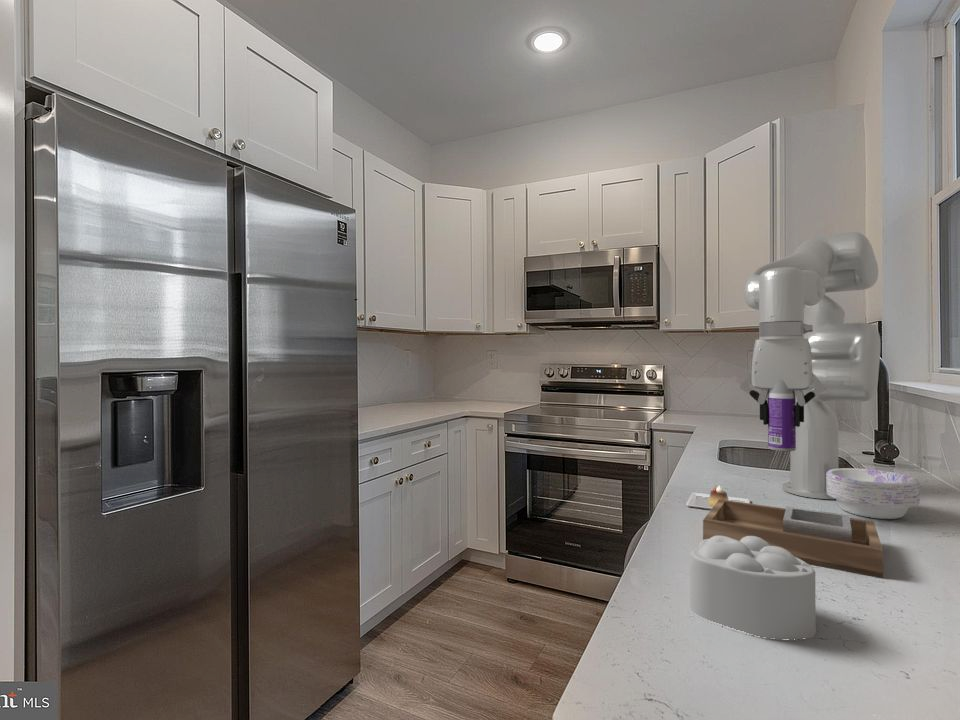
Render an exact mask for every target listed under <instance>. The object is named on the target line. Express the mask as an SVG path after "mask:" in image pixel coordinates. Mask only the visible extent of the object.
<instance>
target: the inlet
mask: <svg viewBox="0 0 960 720" xmlns="http://www.w3.org/2000/svg"><path fill="white" fill-rule="evenodd" d="M785 509H786V510H785V514H784V518H783V531H784V532H790V533H796V534H802V535H808V536H814V537H820V538H826V539H832V540H838V541H844V542H850V543H852V529H851V523H850V518H851V517H850V515H848V514H842V513H835V512H828V511H820V510H815V509H809V508H808V509H806V508H799V507H793V506H785Z"/></svg>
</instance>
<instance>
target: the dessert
mask: <svg viewBox="0 0 960 720" xmlns="http://www.w3.org/2000/svg"><path fill="white" fill-rule="evenodd" d="M716 486H717V485H716V484H715V486H714V487H713V488H712V490H710V493H702V492H701V493H700V492H693V491H692V492H691V493H690V495H689V498H688V500H687V502H686V504H685V505H686V506H688V507H689V508H692V507H693V508H694V509H702V510H709V511H710V510H711V509H712V508H713V507H714V505H715V504H716V503H717V501H718V500H719V499H722V500H728V499H729V501H730V500H740V501H745V503H750V504H751V499H750V498H744V497H737V496H736V497H735V496H728V493H727V492H726V491H724V489H723V487H722V486H721V485H718V486H717V487H716ZM696 496H702V497H701V498H705V497H709V498H708V499H707V503H708V504H709V506H711V507H708V506H700V505H695V504H694V502H695V503H696V501H695V499H696ZM696 500H697V499H696ZM708 504H707V505H708Z"/></svg>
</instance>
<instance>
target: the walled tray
mask: <svg viewBox="0 0 960 720" xmlns="http://www.w3.org/2000/svg"><path fill="white" fill-rule="evenodd" d="M711 508H712V509H711V510H709V512H708V513H707V515H706V516H705V517H704V518H703V520H702V540H704V539H710V538H711V537H713V536H726V537H729V538H732V539H735V540H738V541H740V540H741V539H742V538H743V537H746V536H756V537H759V538H762V539H763V540H765V541H766V542H767V543H768V544H769V545H770V546H777V547H781V548H784V549H786V550H787V551H789V552H790V553H791V554H792V555H793V556H794V557H797V558H799V559H801V560H803V561H804V562H806V563H807V564H809V565H810V566H811V565H812V566H817V567H820V568H821V567H822V568H827V569H832V570H837V571H843V572H847V573H853V574H859V575H864V576H869V577H875V578H880V579H884V549H883V546H882V543H881V540H880V536H879V534H878V530H877V528H876V524H875V521H873V520H868V519H860V518H852V517H850V523H851V529H852V543H850V542H844V541H838V540H832V539H826V538H820V537H814V536H808V535H802V534H796V533H790V532H784V531H783V518H784V514H785V510H786V508H784V507H777V506H768V505H763V504H756V503H751V502H750V503H743V502H738V501H730V500H722V499H719V500H718V501H717V503H716V504H715V505H714V506H712V507H711Z"/></svg>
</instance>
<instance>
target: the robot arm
mask: <svg viewBox="0 0 960 720" xmlns="http://www.w3.org/2000/svg"><path fill="white" fill-rule="evenodd" d="M877 262H878V261H877V258H876V256H875V253H874V249H873V247H872V244H871V242H870V240H869V239H868V238H867V236H865V235H864V234H863V233H861V232H857V231H852V232H843V233H837V234H831V235H824V236H818V237H812V238H809V239H807V240H805V241H803V242H802V243H800V245H798V247H797V248H796V249H795V251H793V253H792V254H790V255H787V256H784V257H782V258H780V259H779V258H778V259H777V260H775V261H772V262H768V263H766V264H764V265H762V266H760V267H758V268H757V269H755V270H754V271H753V272H752V273H751V274H750V276H749V277H748V278H747V281H746V282H745V285H744V289H743V291H744V292H743V296H744V300H745V303H746V305H748V307H750V308H751V309H752V310H756V311H758V329H759V330H758V334H759V335H758V338H759V339H755V341H754V345H753V351H752V352H753V353H752V363H751V372H750V374H749V375H748V376H747V377H746V378H745V379H744V380H743V382H742V383H741V384H740V385H739V388H740V389H741V390H742V391H744V392H746V393H747V394H748V395H750V397H751V398H753V400H755V401H756V402H757V403H758V404H759V420H760V421H763V422H762V423H763V425H766V426H768V389H772V388H774V386H775V384H776V382H777V381H778V380H779V379H782V380H783V381H784V382H785V384H786V386H787V388H788V389H790V390H794V392H795V398H796V406H795V426H796V450H795V451H789V453H790V454H789V456H790V457H789V461H790V464H789V465H790V466H789V468H790V469H789V472H790V473H789V475H790V476H789V478H790V479H789V481H787V482H783V484H782V490H784V491H785V492H786V493H789V494H792V495H796V496H799V497H804V498H805V497H806V498H810V499H820V500H836V498H833V497H831V496H829V495H828V494H827V489H826V488H827V487H826V485H827V484H826V483H827V482H826V476H827V475H826V472H827V471H829V470H832V469H839V420H838V417H837V415H836V413H835V412H834V411H833V410H832V409H831V408H830V407H829V405H828V404H827V403H826V402H828V401H829V402H833V401H834V402H835V401H836V402H851V403H852V402H856V403H860V402H861V403H863V402H868V401H871V400H872V399H874V397H875V395H876V394H877V390H878V383H879V374H880V373H879V372H880V371H879V370H880V362H881V361H880V360H881V346H882V345H881V336H880V333H879V330H878V328H877V327H876V326H875V325H873V324H871V323H867V322H845V316H846V315H845V314H846V313H845V311H844V308H843V307H842V306H841V305H840V304H839V303H838V302H836V301H835V300H834V299H833V298H831V297H830V296H828V295H827V294H826V293H838V292H840V293H841V292H850V291H864V290H868V289H870V288H872V287H874V285H875V284H876V283H877V281H878V277H879V266H878V263H877ZM751 384H752V386H751ZM752 387H754V388H756V389H758V390H760V392H758V391H757V390H756V389H754V388H752Z"/></svg>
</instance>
